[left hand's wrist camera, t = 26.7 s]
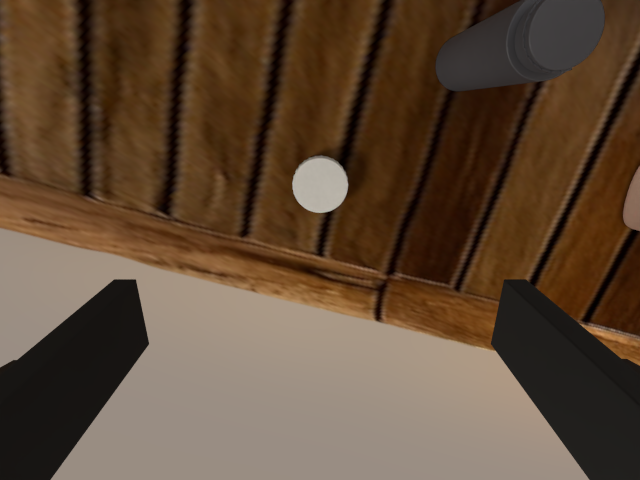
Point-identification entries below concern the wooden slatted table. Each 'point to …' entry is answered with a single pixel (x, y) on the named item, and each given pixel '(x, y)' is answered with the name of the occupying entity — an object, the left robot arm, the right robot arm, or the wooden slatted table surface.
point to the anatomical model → (633, 203)
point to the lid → (320, 184)
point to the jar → (522, 44)
